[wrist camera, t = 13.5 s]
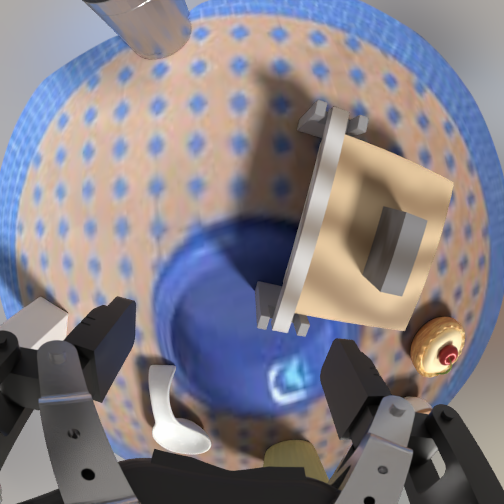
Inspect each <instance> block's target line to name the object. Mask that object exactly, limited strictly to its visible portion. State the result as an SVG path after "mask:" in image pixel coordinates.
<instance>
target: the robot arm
mask: <svg viewBox="0 0 504 504" xmlns="http://www.w3.org/2000/svg"><path fill="white" fill-rule="evenodd" d="M83 1H84V2H85V3H86V4H87V5H88V6H89V7H90V8H91V9H92V10H93V11H94V12H96V13H97V14H98V15H99V16H100V17H101V18H102V19H103V20H104V21H105V22H106V23H107V24H108V25H109V26H110V27H111V28H112V29H113V30H114V31H115V32H116V33H117V34H118V35H119V36H120V37H121V38H122V39H123V40H124V41H125V42H126V43H127V44H128V45H129V46H130V47H131V48H132V49H133V50H134V52H135V53H136V54H138V55H139V56H140V57H143V58H145V59H160V58H164V57H167V56H170V55H172V54H173V53H175V52H177V51H178V50H179V49H181V48H182V47H183V46H184V45H185V43H186V42H187V41H188V39H189V37H190V34H191V23H190V20H189V18H188V16H189V11H188V8H187V5H186V3H185V0H83ZM135 321H136V303H135V301H133V300H129V299H126V298H122V297H118V296H117V297H116V298H115V299H114V300H113V301H112V302H111V303H110V304H109V305H108V306H105V305H102V306H99V307H97V308H95V309H93V310H92V311H91V312H90V313H89V314H88V315H87V316H86V317H85V318H84V319H83V320H82V321H81V323H79V324H78V325H77V326H76V327H75V328H74V329H73V330H72V332H71V333H70V334H69V335H68V336H67V337H66V338H65V339H64V340H63V341H62V340H53V341H48V342H46V343H44V344H43V345H41V346H40V347H39V349H38V350H35V349H29V348H24V347H19V343H18V339H17V337H16V335H15V334H13V333H12V332H9V331H4V330H0V470H1V468H2V466H3V464H4V462H5V460H6V458H7V456H8V454H9V452H10V450H11V449H12V447H13V445H14V443H15V441H16V439H17V437H18V436H19V434H20V432H21V430H22V428H23V427H24V425H25V423H26V422H27V420H28V418H29V417H30V415H31V413H32V412H33V410H34V409H36V410H40V415H41V420H42V426H43V431H44V436H45V440H46V445H47V449H48V453H49V457H50V461H51V464H52V467H53V471H54V474H55V478H56V481H57V484H58V487H59V489H56V490H54V491H51V492H49V493H46V494H43V495H41V496H38V497H35V498H32V499H29V500H26V501H24V502H21V503H17V504H398V501H399V498H400V496H401V492H402V490H403V487H405V490H406V493H407V496H408V498H409V502H410V504H504V490H503V488H502V486H501V485H500V483H499V481H498V479H497V477H496V475H495V473H494V472H493V470H492V468H491V466H490V465H489V463H488V461H487V459H486V458H485V456H484V454H483V452H482V451H481V449H480V447H479V446H478V445H477V442H476V441H475V439H474V438H473V436H472V434H471V433H470V431H469V430H468V428H467V427H466V425H465V423H464V422H463V420H462V419H461V417H460V416H459V414H458V413H457V412H456V411H455V410H454V409H453V408H451V407H449V406H447V405H443V404H439V405H436V406H434V408H433V409H432V410H431V412H430V413H429V414H424V413H418V412H415V410H414V408H413V406H412V405H411V404H410V403H409V402H408V401H407V400H405V399H404V398H401V397H399V396H394V395H392V394H391V393H390V391H389V389H388V387H387V386H386V384H385V382H384V381H383V379H382V377H381V376H379V372H378V371H377V369H376V367H375V366H374V364H373V362H372V361H371V359H370V358H368V357H367V356H366V355H365V354H364V353H363V352H360V350H359V348H358V347H357V345H356V343H355V342H354V341H353V340H348V339H338V338H336V339H335V340H334V341H333V343H332V345H331V347H330V350H329V352H328V355H327V357H326V359H325V362H324V364H323V366H322V369H321V374H320V381H321V384H322V387H323V390H324V393H325V396H326V399H327V402H328V406H329V409H330V412H331V415H332V418H333V421H334V424H335V427H336V430H337V433H338V437H339V440H348V439H351V440H352V444H351V445H350V447H349V448H348V450H347V452H346V453H345V455H344V457H343V459H342V460H341V462H340V464H339V465H338V467H337V469H336V470H335V472H334V474H333V475H332V477H331V478H330V480H329V481H328V483H325V482H323V481H320V480H318V479H314V478H311V477H306V475H305V469H304V467H273V466H268V467H262V468H255V469H247V470H238V471H229V470H225V469H222V468H219V467H216V466H213V465H211V464H208V463H205V462H202V461H200V460H197V459H195V458H192V457H187V456H182V455H178V454H173V453H169V452H164V451H160V450H156V449H154V452H153V455H152V458H135V459H128V460H124V461H119V462H117V460H116V457H115V455H114V453H113V451H112V448H111V446H110V444H109V442H108V439H107V437H106V434H105V432H104V429H103V427H102V424H101V422H100V419H99V416H98V414H97V411H96V408H95V405H94V402H93V400H95V401H98V402H101V403H102V402H103V400H104V398H105V396H106V394H107V392H108V390H109V388H110V387H111V385H112V383H113V381H114V379H115V377H116V376H117V374H118V372H119V370H120V369H121V367H122V365H123V363H124V361H125V360H126V358H127V356H128V354H129V353H130V351H131V349H132V347H133V344H134V340H135ZM438 450H439V452H440V454H441V456H442V458H443V460H444V462H445V465H446V470H445V474H444V475H443V476H442V477H441V478H439V475H438V473H437V471H436V469H435V466H434V464H433V463H432V460H431V458H432V456H433V455H434V454H435V453H436V452H437V451H438ZM1 502H2V496H1V485H0V503H1Z"/></svg>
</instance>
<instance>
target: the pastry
mask: <svg viewBox="0 0 504 504" xmlns="http://www.w3.org/2000/svg"><path fill="white" fill-rule="evenodd" d="M464 342H465V332H464V329H463V327H462V325H461V324H459V323H458V322H457V321H456V320H455V319H454V318H451V317H439V318H435V319H432V320H430V321H429V322H427V323H426V324H425V325H424V326H423V327H422V328H421V329H420V330H419V331H418V332H417V334H416V335H415V337H414V339H413V341H412V345H411V352H410V354H411V359H412V362H413V364H414V366H415V368H416V370H417V371H418V373H419V374H421V375H422V376H424V377H429V378H430V377H434V376H438V375H439V374H446V373H448V372H449V371H450V370H451V368H452V364H453V363H454V362H456V361H457V358H458V356H459V355H460V354H461V352H462V348H463V347H464ZM448 368H450V369H449V370H448V371H446V370H447V369H448ZM445 371H446V372H445Z"/></svg>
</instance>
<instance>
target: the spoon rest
mask: <svg viewBox="0 0 504 504" xmlns="http://www.w3.org/2000/svg"><path fill="white" fill-rule="evenodd" d="M175 370H176V366H174V365H151V366H150V368H149V375H148V379H149V391H150V398H151V405H152V410H153V415H154V419H155V425H154V427H153V429H152V435H153V438H154V439H155V441H156V442H157V443H158V444H160V445H161V446H162V447H164V448H166V449H168V450H170V451H173V452H177V453H182V454H200V453H204V452H206V451H208V450H209V449H210V447H211V440H210V438H209V436H208V435H207V433H206V432H205V431H204V430H203V429H202V428H201V427H200V426H198V425H197V424H195V423H194V422H192V421H190V420H188V419H184V418H175V417H174V415H173V412H172V410H171V406H170V399H169V392H170V385H171V381H172V378H173V375H174V372H175Z"/></svg>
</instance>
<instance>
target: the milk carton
mask: <svg viewBox="0 0 504 504" xmlns="http://www.w3.org/2000/svg"><path fill="white" fill-rule="evenodd" d="M67 322H68V313H67V312H65V311H63V310H62V309H60V308H58V307H57V306H55V305H54V304H52V303H50V302H49V301H47V300H46V299H44V298H42V297H39V298H37V299H36V300H34V301H33V302H32V303H30V304H29V305H27V306H26V307H24V308H23V309H22V310H20V311H19V312H18V313H16V314H15V315H13V316H12V317H11V318H9V319H8V320H7V321H5V322H4V323H3V324H2V325H0V330H4V331H9V332H12V333H13V334H15V335H16V337H17V339H18V343H19V347H24V348H29V349H35V350H38V349H39V347H40V346H41V345H43V344H44V343H46V342H48V341H53V340H62V341H63V340H64V339H65V338H66V333H67Z"/></svg>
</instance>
